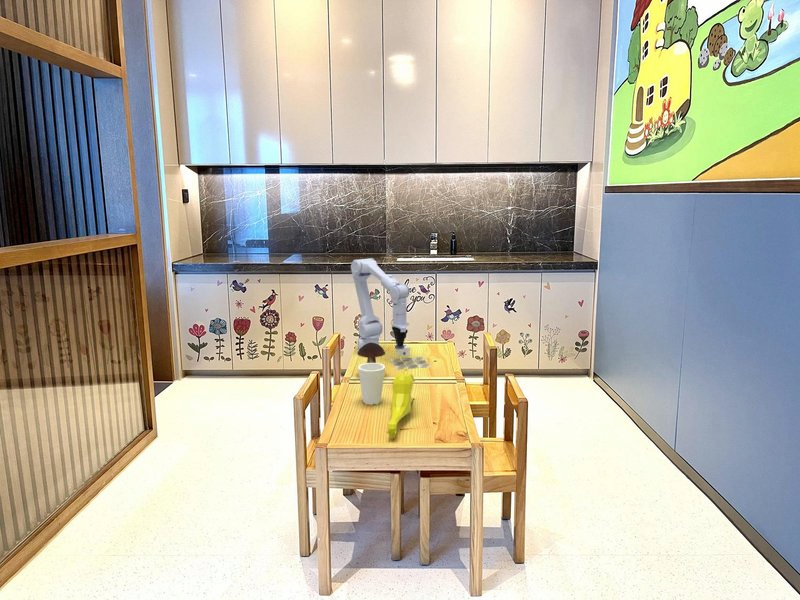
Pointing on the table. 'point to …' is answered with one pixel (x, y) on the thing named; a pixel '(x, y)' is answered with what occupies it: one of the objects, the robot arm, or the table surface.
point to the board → (410, 363)
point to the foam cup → (371, 382)
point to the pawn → (398, 346)
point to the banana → (400, 400)
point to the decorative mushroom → (371, 352)
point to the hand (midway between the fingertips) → (399, 344)
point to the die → (403, 351)
